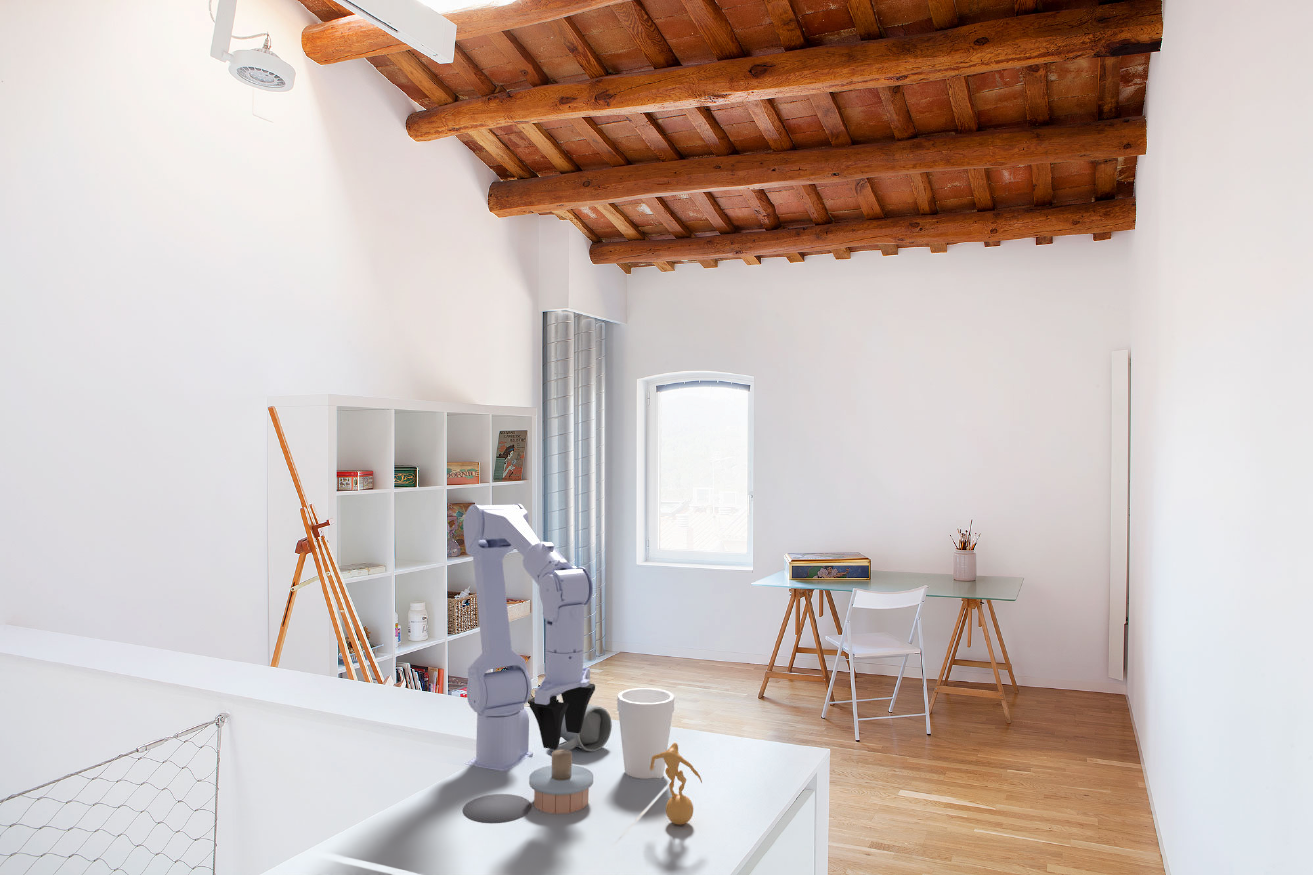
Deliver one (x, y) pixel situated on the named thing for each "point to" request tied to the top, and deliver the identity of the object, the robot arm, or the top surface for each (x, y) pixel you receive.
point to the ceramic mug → (588, 731)
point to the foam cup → (644, 729)
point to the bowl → (561, 802)
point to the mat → (497, 808)
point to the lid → (561, 776)
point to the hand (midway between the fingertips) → (562, 739)
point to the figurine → (679, 805)
